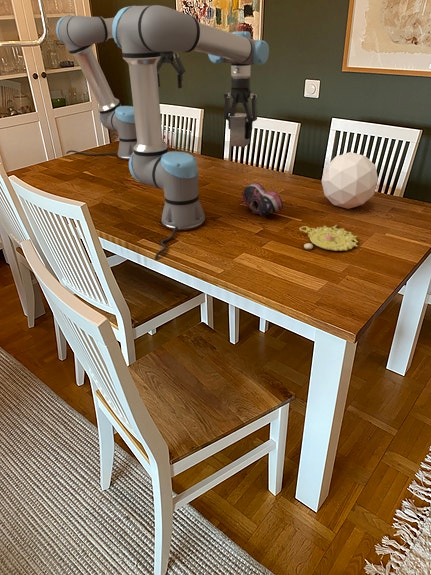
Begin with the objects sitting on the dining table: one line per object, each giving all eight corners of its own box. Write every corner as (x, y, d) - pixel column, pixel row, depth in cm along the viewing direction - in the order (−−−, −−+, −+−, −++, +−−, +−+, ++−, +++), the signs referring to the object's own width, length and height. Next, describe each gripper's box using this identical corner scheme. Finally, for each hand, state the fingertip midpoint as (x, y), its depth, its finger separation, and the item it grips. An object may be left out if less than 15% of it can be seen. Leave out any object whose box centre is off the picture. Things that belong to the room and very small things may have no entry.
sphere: (353, 227, 164) (368, 198, 145) (307, 200, 169) (316, 169, 150) (378, 190, 169) (396, 158, 150) (333, 165, 174) (345, 131, 155)
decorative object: (343, 255, 128) (285, 234, 139) (342, 262, 130) (284, 241, 140) (372, 230, 142) (317, 213, 152) (371, 237, 143) (316, 219, 153)
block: (236, 142, 189) (236, 113, 183) (249, 143, 187) (250, 113, 181) (230, 145, 184) (230, 116, 178) (244, 147, 182) (244, 117, 176)
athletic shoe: (254, 181, 170) (227, 189, 167) (283, 176, 151) (253, 185, 147) (260, 210, 173) (234, 218, 170) (290, 209, 154) (261, 219, 150)
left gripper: (141, 43, 230) (145, 87, 241) (183, 43, 220) (186, 89, 232) (148, 42, 235) (153, 85, 247) (190, 42, 226) (192, 87, 238)
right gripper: (214, 77, 173) (215, 138, 185) (261, 79, 166) (259, 142, 178) (221, 75, 178) (222, 134, 191) (267, 76, 172) (265, 137, 184)
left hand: (169, 87), depth 239 cm, fingers open, 13 cm apart
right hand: (240, 137), depth 184 cm, fingers closed on block, 6 cm apart
